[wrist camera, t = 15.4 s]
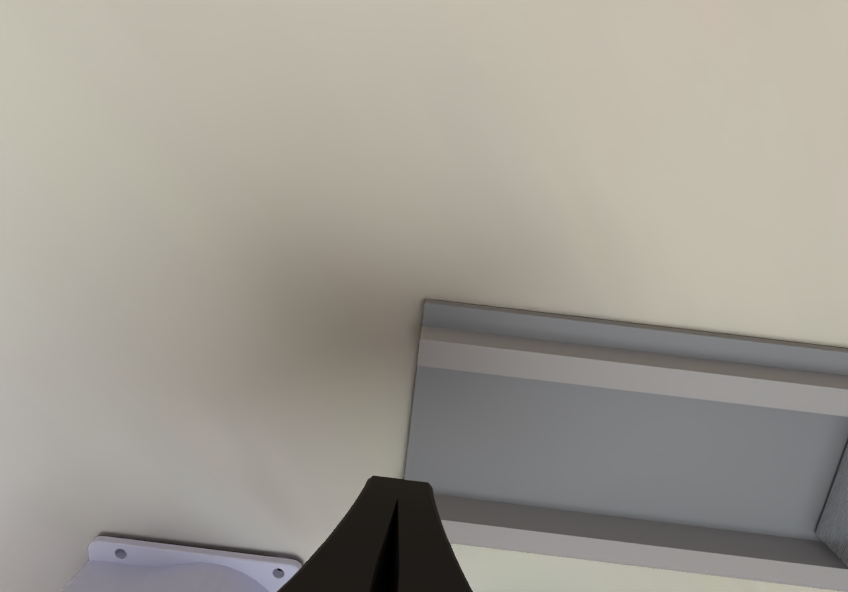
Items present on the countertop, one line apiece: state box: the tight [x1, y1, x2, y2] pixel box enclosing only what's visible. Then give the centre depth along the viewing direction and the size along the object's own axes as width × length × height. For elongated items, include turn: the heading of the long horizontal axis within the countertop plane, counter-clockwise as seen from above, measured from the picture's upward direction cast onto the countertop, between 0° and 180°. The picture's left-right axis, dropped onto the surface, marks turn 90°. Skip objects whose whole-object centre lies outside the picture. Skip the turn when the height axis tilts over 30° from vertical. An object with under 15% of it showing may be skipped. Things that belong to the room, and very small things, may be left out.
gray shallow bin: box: [404, 299, 848, 592], centre depth 19 cm, size 22×10×4 cm, turn 84°
